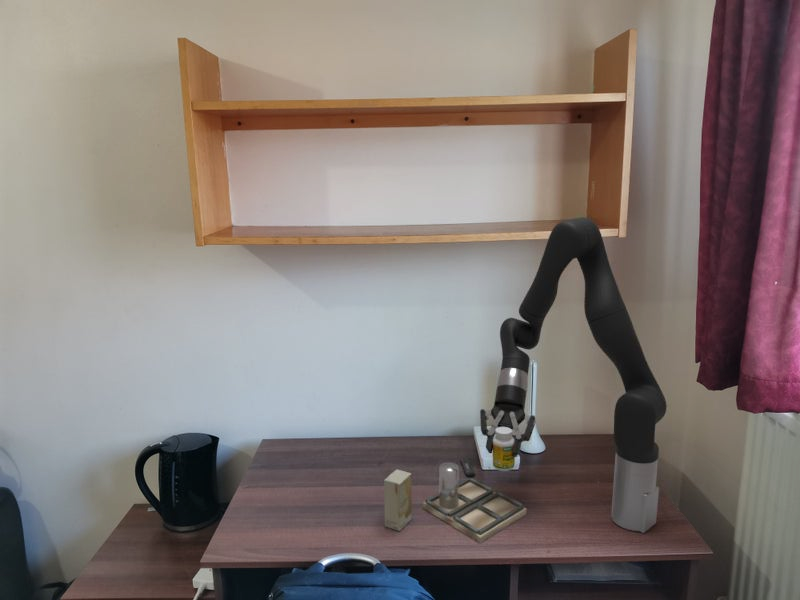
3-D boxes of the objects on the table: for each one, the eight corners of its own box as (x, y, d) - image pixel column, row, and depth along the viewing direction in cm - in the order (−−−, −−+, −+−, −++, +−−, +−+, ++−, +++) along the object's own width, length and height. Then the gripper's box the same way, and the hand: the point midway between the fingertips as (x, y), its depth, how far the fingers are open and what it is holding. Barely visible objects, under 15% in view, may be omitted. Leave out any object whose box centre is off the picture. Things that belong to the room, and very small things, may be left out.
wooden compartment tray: (526, 514, 144) (526, 505, 144) (480, 543, 134) (480, 534, 133) (469, 484, 158) (469, 476, 158) (422, 508, 148) (422, 499, 147)
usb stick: (459, 462, 171) (459, 457, 171) (468, 461, 171) (468, 457, 171) (466, 478, 162) (466, 473, 162) (475, 478, 162) (475, 473, 162)
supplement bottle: (504, 459, 148) (504, 423, 146) (519, 467, 143) (520, 431, 141) (487, 465, 145) (488, 428, 143) (502, 474, 140) (503, 436, 138)
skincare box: (400, 532, 138) (399, 484, 135) (384, 527, 140) (382, 480, 137) (412, 518, 144) (412, 472, 141) (397, 513, 146) (396, 468, 143)
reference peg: (462, 504, 146) (462, 467, 144) (449, 511, 143) (449, 474, 141) (448, 496, 150) (448, 460, 148) (435, 503, 147) (435, 466, 145)
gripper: (481, 380, 149) (470, 444, 141) (539, 386, 144) (531, 453, 136) (485, 392, 155) (475, 455, 147) (541, 398, 150) (533, 463, 142)
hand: (502, 453), depth 141 cm, fingers closed on supplement bottle, 5 cm apart
